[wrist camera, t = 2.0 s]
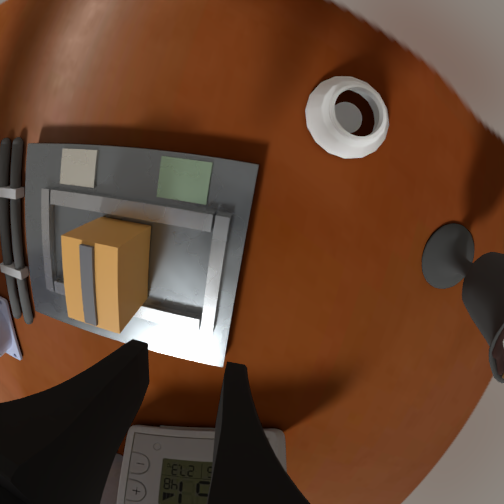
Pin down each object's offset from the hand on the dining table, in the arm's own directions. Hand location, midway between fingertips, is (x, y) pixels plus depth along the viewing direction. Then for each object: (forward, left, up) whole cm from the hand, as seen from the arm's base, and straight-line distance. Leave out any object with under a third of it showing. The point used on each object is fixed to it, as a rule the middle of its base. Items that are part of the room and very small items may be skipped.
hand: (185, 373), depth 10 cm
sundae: (+15, +4, -10) cm, 19 cm away
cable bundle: (-19, -1, -10) cm, 21 cm away
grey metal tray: (-8, 0, -10) cm, 12 cm away
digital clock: (0, -19, -10) cm, 21 cm away
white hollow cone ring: (+5, +11, -10) cm, 16 cm away
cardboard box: (-7, 0, -9) cm, 11 cm away
